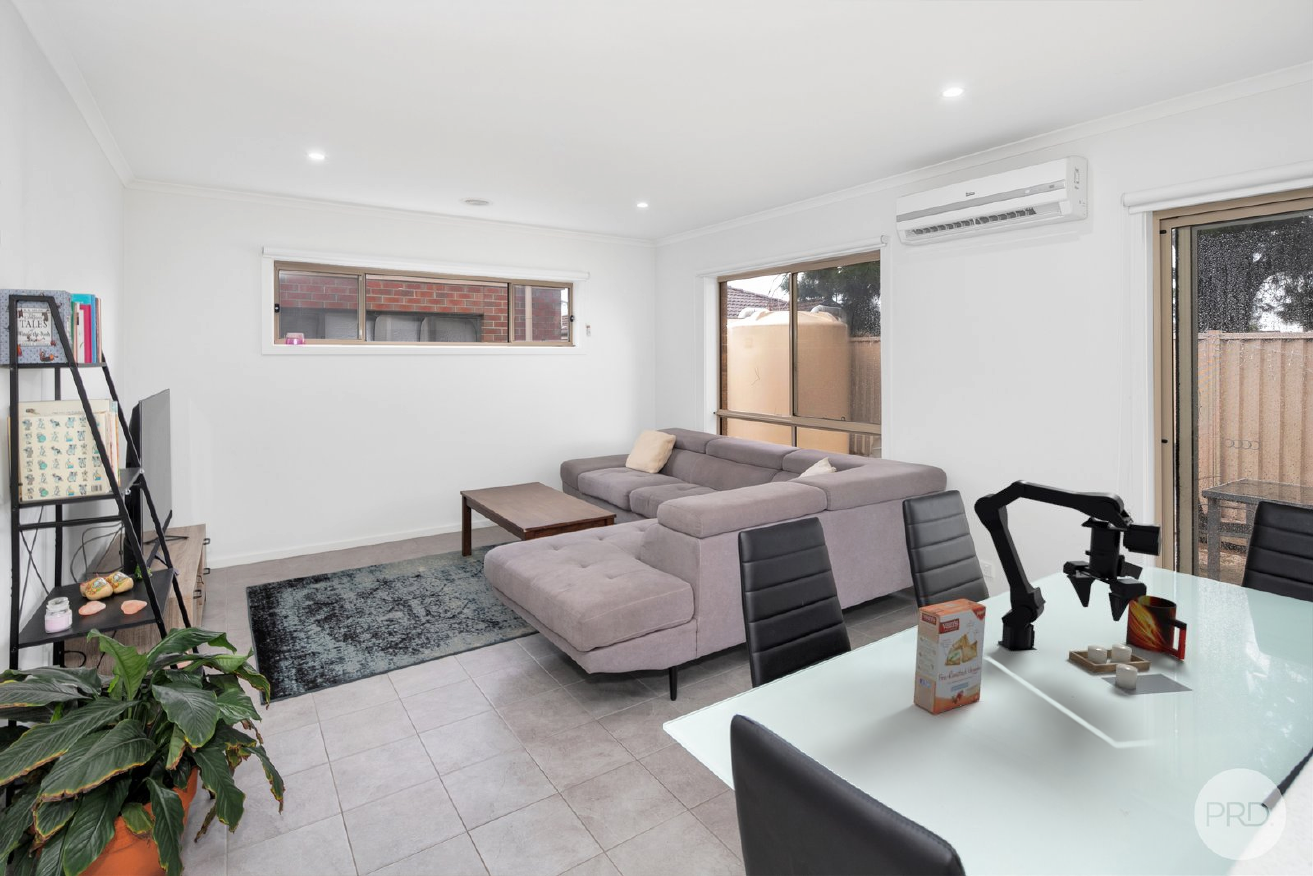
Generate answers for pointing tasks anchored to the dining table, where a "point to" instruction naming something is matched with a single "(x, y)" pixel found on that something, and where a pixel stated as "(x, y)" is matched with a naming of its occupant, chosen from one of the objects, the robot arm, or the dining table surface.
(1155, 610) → the mug
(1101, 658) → the pebble
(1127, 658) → the pebble
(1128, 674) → the white rounded stone
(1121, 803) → the dining table surface
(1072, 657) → the walnut bin
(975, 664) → the cracker box
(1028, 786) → the dining table surface
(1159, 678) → the slate board
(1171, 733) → the dining table surface
